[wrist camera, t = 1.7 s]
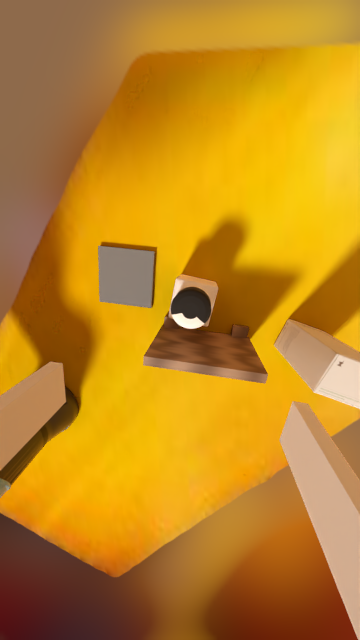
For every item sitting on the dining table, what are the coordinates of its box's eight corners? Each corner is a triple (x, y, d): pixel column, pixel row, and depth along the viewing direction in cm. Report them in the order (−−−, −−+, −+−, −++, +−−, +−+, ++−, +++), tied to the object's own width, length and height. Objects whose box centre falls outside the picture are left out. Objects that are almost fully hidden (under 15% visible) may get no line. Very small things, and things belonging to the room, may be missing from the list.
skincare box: (272, 344, 42) (308, 392, 27) (288, 315, 40) (337, 351, 25) (310, 358, 42) (367, 414, 27) (329, 330, 40) (401, 375, 25)
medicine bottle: (180, 273, 40) (171, 281, 28) (216, 281, 40) (221, 292, 28) (173, 308, 42) (162, 327, 31) (207, 316, 42) (208, 338, 30)
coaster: (101, 300, 43) (99, 301, 43) (100, 246, 40) (98, 245, 39) (152, 307, 43) (151, 307, 42) (155, 251, 39) (154, 251, 38)
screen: (161, 341, 45) (142, 377, 31) (163, 315, 43) (144, 342, 30) (244, 353, 43) (261, 396, 30) (250, 326, 41) (271, 360, 28)
